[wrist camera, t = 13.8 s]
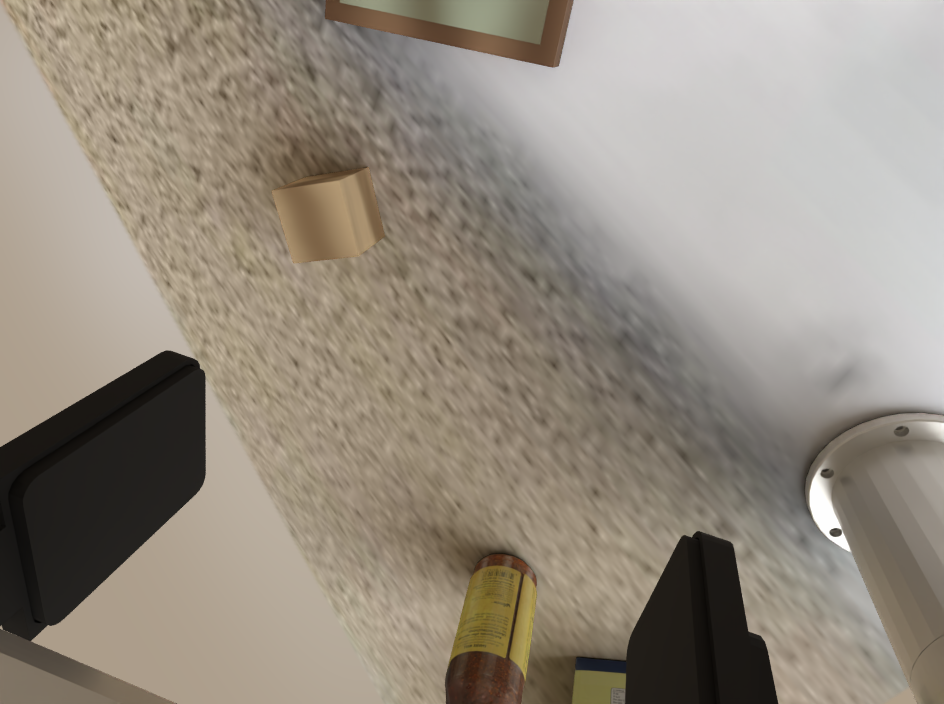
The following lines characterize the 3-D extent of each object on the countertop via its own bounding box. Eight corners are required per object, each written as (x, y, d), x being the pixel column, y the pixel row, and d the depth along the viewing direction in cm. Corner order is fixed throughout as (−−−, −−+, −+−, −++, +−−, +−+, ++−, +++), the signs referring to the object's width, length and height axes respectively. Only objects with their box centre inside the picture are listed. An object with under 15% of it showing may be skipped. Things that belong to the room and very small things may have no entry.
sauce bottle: (461, 572, 58) (389, 793, 41) (500, 538, 55) (439, 762, 38) (515, 610, 59) (466, 844, 42) (556, 579, 56) (521, 818, 38)
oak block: (369, 166, 43) (339, 180, 38) (385, 235, 45) (358, 256, 40) (306, 176, 44) (271, 190, 40) (325, 243, 46) (293, 263, 42)
